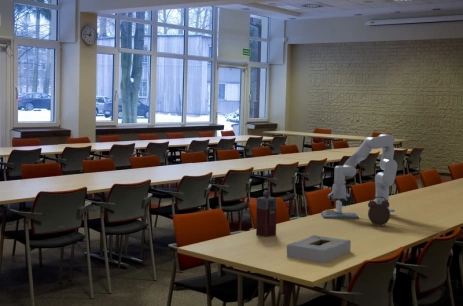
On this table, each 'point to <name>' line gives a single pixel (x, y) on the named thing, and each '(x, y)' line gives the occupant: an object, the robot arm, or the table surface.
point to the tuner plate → (340, 215)
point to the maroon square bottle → (266, 215)
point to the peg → (338, 208)
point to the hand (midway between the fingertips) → (338, 205)
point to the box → (318, 248)
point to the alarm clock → (378, 212)
